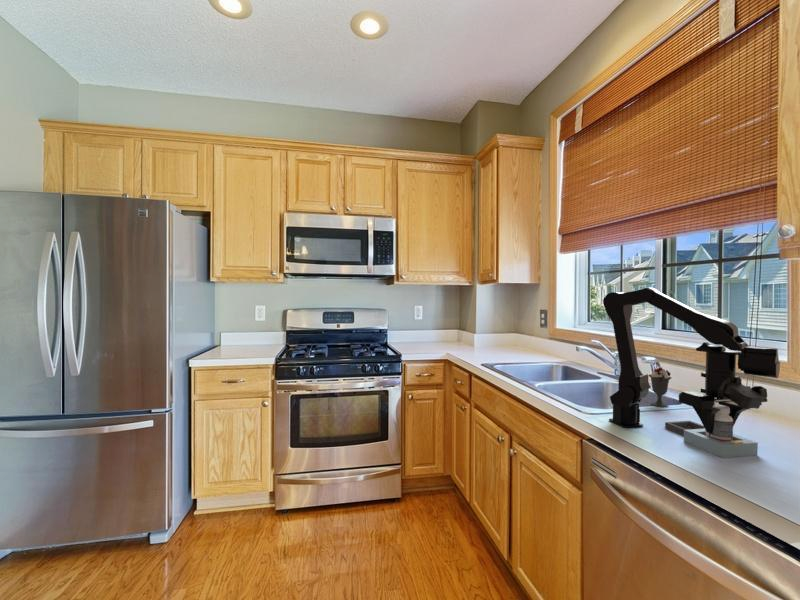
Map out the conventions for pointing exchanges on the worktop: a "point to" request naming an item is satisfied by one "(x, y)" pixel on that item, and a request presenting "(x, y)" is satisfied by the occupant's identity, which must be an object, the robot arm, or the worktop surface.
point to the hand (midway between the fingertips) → (718, 432)
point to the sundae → (660, 384)
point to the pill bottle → (722, 425)
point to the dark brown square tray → (682, 426)
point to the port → (721, 444)
